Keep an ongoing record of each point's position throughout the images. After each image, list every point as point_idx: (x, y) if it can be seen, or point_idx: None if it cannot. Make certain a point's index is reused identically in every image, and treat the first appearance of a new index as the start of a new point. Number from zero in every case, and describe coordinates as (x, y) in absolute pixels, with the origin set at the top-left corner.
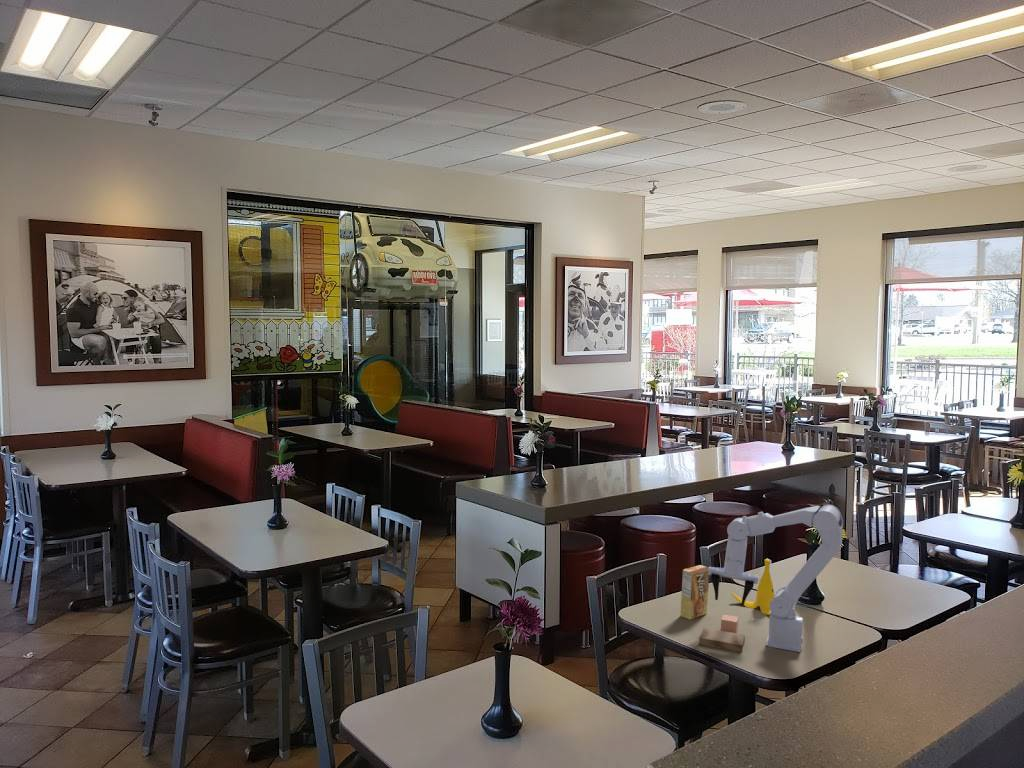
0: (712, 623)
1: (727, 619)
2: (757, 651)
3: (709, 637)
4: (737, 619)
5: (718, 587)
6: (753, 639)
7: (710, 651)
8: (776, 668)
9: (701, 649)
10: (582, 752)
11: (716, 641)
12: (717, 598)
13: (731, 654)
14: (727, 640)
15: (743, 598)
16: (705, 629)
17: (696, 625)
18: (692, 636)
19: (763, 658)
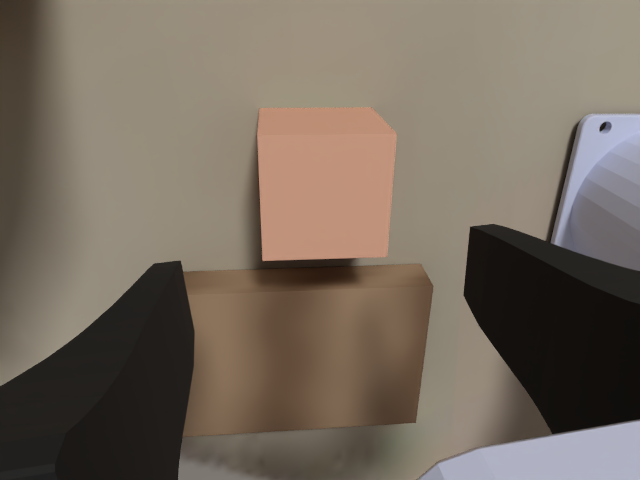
0: (165, 37)
1: (309, 236)
2: (486, 351)
3: (226, 411)
4: (390, 199)
5: (156, 374)
6: (476, 206)
7: (254, 449)
8: None
9: (207, 449)
10: None
11: (273, 428)
12: (192, 351)
13: (357, 434)
14: (332, 403)
15: (517, 365)
16: None
17: (65, 142)
18: None
19: (508, 408)
